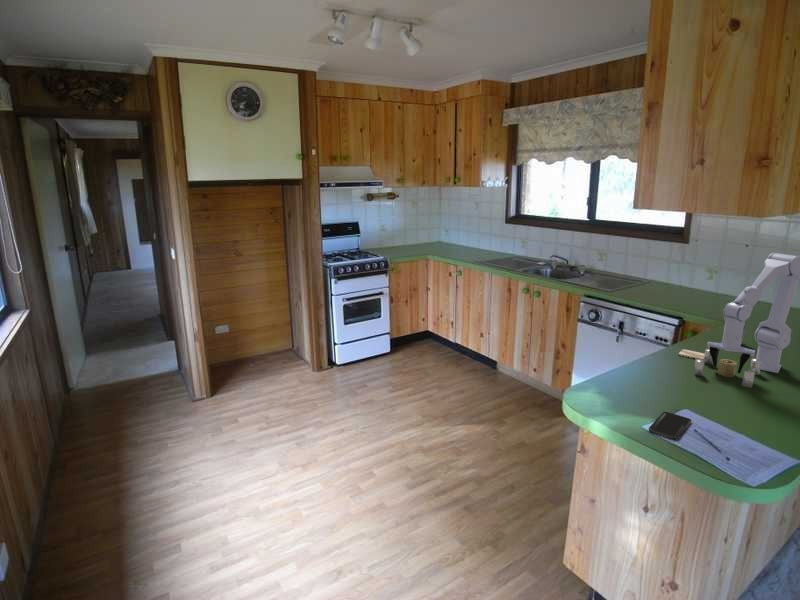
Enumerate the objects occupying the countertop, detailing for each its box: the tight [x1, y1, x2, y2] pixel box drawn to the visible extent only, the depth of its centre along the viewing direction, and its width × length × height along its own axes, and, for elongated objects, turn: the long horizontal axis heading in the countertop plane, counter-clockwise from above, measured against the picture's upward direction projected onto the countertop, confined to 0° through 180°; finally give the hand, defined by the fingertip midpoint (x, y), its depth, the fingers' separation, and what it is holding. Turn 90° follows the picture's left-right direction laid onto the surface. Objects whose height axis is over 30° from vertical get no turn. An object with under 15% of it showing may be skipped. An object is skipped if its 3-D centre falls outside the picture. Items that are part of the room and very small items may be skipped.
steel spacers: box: [692, 348, 762, 389], centre depth 176 cm, size 18×18×6 cm
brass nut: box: [717, 358, 738, 378], centre depth 176 cm, size 6×5×5 cm
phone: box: [648, 411, 692, 441], centre depth 140 cm, size 8×1×15 cm
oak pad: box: [677, 348, 705, 360], centre depth 195 cm, size 7×9×1 cm
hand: (726, 369), depth 176 cm, fingers open, 7 cm apart
